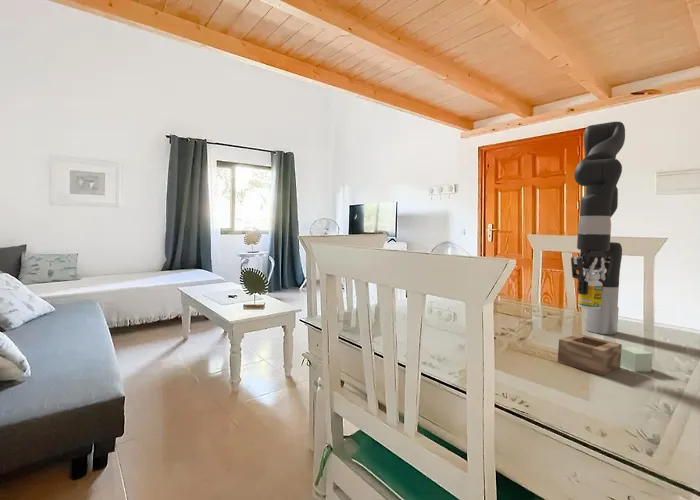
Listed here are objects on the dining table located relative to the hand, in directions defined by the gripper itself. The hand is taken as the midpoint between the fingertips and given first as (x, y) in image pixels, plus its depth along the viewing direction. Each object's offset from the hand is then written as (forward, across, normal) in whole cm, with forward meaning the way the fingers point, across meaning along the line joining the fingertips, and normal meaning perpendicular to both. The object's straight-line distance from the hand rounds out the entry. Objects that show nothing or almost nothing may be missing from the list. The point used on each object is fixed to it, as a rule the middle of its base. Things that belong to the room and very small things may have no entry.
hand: (590, 293), depth 100 cm
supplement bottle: (+4, 0, 0) cm, 4 cm away
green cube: (+20, -10, +6) cm, 23 cm away
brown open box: (+20, 0, +1) cm, 20 cm away
